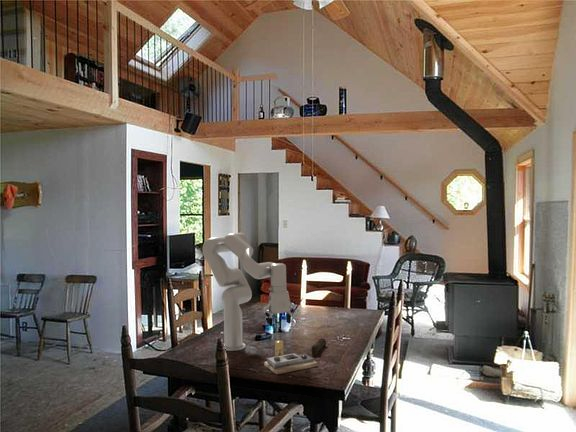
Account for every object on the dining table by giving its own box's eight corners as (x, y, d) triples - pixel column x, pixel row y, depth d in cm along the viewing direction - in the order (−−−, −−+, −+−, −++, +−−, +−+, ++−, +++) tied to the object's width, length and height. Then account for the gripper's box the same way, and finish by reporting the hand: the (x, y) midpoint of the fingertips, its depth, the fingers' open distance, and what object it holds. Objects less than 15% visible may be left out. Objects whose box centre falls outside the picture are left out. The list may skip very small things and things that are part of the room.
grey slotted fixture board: (267, 363, 195) (267, 356, 195) (305, 356, 205) (305, 349, 205) (274, 368, 188) (274, 361, 188) (313, 361, 198) (313, 354, 198)
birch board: (264, 365, 197) (264, 361, 197) (303, 357, 207) (303, 354, 207) (276, 374, 186) (276, 371, 186) (317, 366, 196) (317, 362, 196)
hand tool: (319, 345, 227) (318, 336, 227) (326, 346, 225) (326, 337, 225) (307, 356, 209) (306, 347, 209) (314, 357, 208) (314, 348, 208)
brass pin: (273, 357, 208) (273, 341, 208) (281, 356, 210) (280, 339, 210) (277, 359, 204) (277, 343, 204) (284, 358, 206) (284, 341, 206)
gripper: (265, 292, 200) (266, 328, 200) (298, 288, 207) (298, 323, 207) (259, 289, 206) (260, 325, 206) (290, 286, 214) (291, 320, 214)
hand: (279, 324), depth 207 cm, fingers open, 9 cm apart
